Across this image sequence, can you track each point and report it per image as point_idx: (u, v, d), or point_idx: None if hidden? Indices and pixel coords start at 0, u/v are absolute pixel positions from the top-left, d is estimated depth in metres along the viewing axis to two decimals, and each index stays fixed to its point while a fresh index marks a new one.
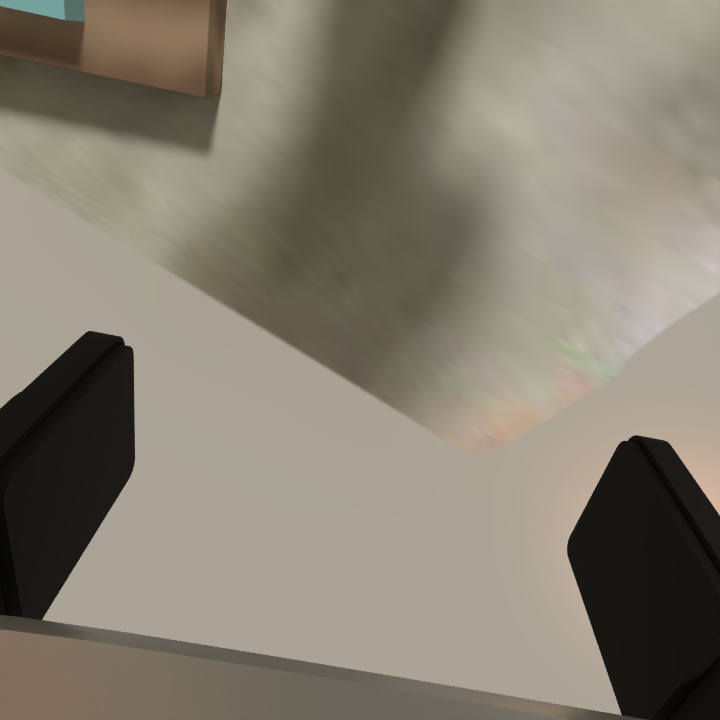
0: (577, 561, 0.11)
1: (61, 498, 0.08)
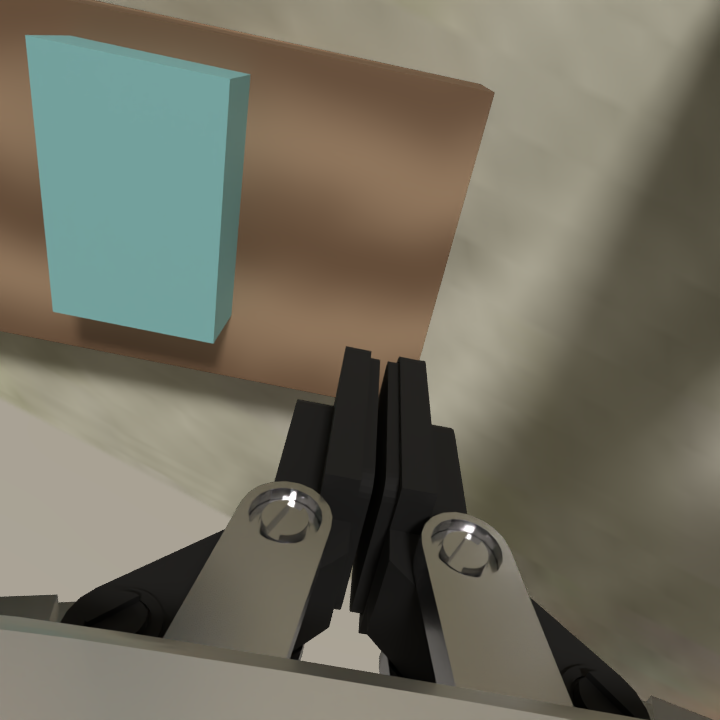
0: None
1: None
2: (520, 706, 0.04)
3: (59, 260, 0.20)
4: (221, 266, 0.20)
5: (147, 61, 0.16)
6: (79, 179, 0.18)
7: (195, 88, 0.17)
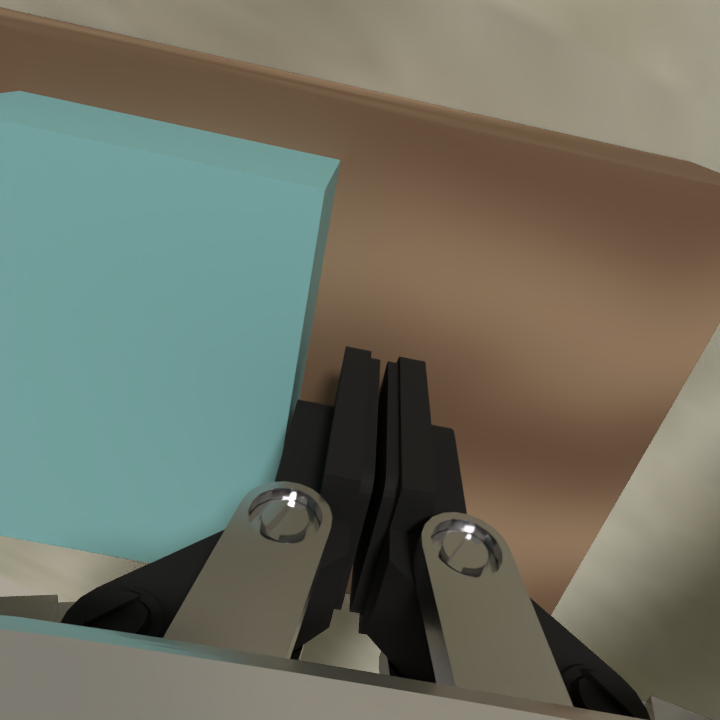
0: None
1: None
2: (520, 706, 0.04)
3: (4, 467, 0.11)
4: None
5: (162, 154, 0.08)
6: (34, 349, 0.10)
7: (255, 205, 0.09)
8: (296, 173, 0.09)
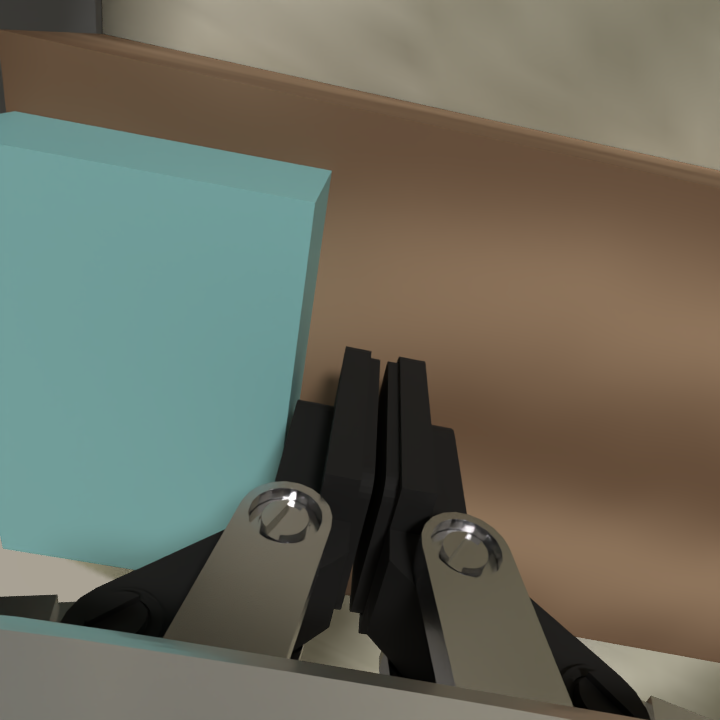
0: None
1: None
2: (520, 706, 0.04)
3: (8, 481, 0.12)
4: None
5: (154, 172, 0.08)
6: (34, 366, 0.10)
7: (246, 219, 0.09)
8: (287, 186, 0.09)
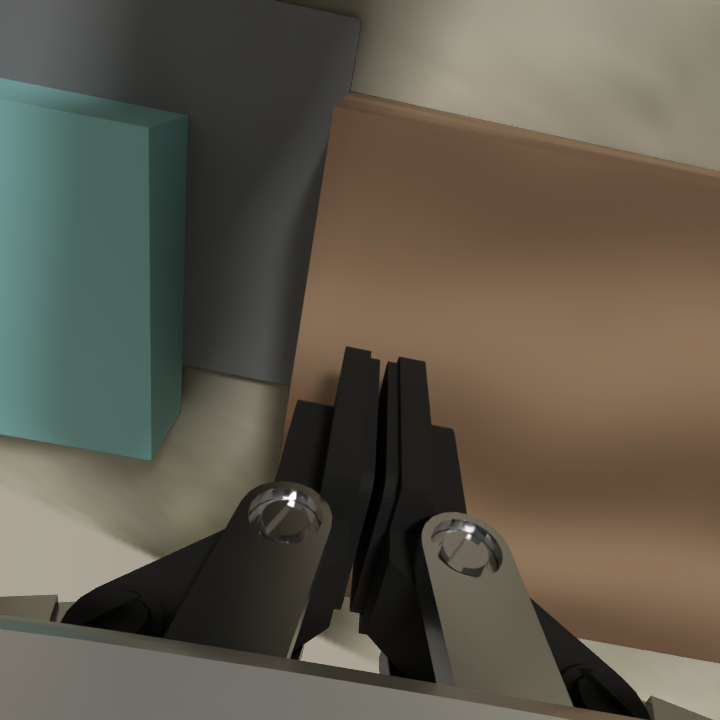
0: None
1: None
2: (520, 706, 0.04)
3: None
4: None
5: (42, 87, 0.14)
6: None
7: None
8: None
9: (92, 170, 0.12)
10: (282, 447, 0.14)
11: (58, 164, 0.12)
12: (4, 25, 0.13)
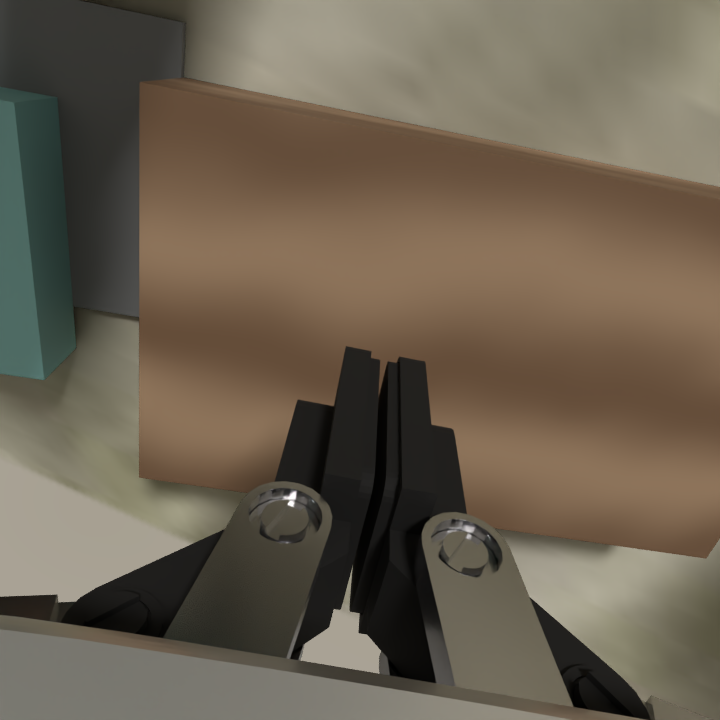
0: None
1: None
2: (520, 706, 0.04)
3: None
4: None
5: None
6: None
7: None
8: None
9: None
10: (140, 355, 0.18)
11: None
12: None
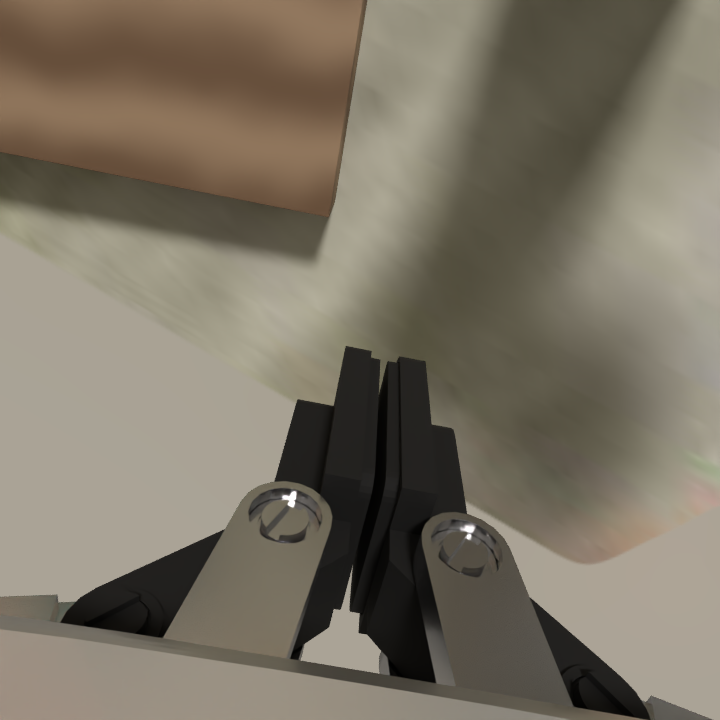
0: None
1: None
2: (520, 706, 0.04)
3: None
4: None
5: None
6: None
7: None
8: None
9: None
10: None
11: None
12: None
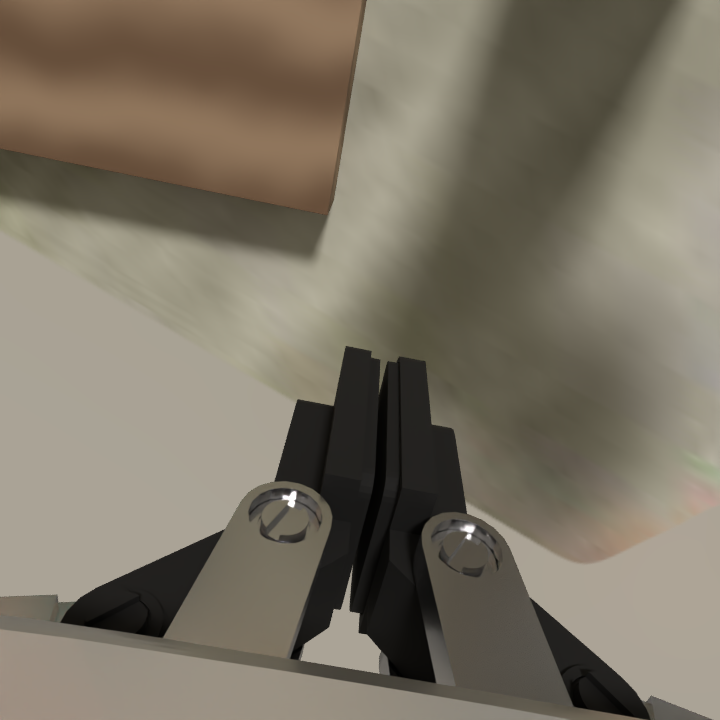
0: None
1: None
2: (520, 706, 0.04)
3: None
4: None
5: None
6: None
7: None
8: None
9: None
10: None
11: None
12: None
